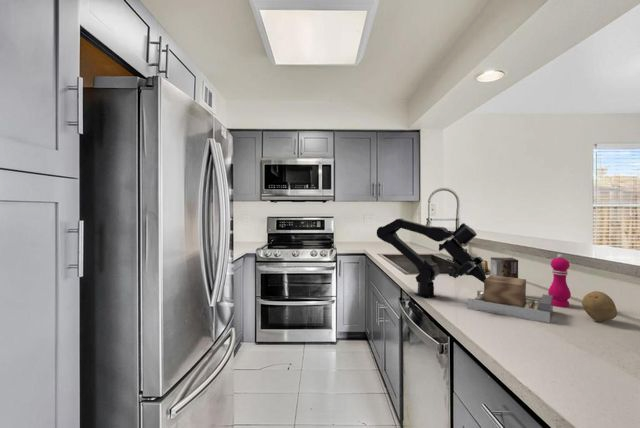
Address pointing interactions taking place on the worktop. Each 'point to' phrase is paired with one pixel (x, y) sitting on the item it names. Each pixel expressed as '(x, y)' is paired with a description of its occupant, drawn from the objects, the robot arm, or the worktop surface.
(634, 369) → the worktop surface
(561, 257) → the pepper mill
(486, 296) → the slab
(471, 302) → the track
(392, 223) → the robot arm
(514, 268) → the coffee box
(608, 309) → the potato
